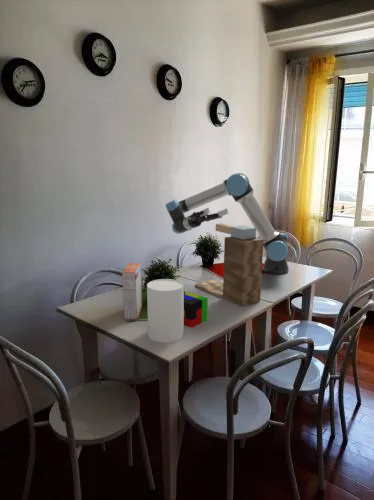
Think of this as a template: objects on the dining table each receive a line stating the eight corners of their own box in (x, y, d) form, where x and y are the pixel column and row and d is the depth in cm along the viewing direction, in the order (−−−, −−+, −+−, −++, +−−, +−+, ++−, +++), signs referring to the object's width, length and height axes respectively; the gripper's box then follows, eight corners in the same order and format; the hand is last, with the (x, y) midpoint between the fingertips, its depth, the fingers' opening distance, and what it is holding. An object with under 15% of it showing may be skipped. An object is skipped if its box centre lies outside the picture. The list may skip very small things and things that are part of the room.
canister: (175, 345, 136) (175, 292, 131) (141, 339, 140) (140, 288, 136) (188, 329, 148) (188, 281, 143) (157, 324, 153) (156, 277, 148)
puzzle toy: (173, 320, 156) (172, 298, 154) (189, 314, 163) (189, 292, 161) (190, 328, 150) (191, 304, 147) (207, 320, 157) (207, 298, 155)
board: (214, 281, 206) (214, 279, 206) (240, 292, 190) (240, 290, 189) (194, 286, 199) (194, 283, 199) (220, 298, 182) (220, 295, 182)
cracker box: (129, 307, 170) (127, 262, 166) (142, 307, 170) (141, 262, 165) (123, 320, 157) (121, 271, 152) (137, 320, 157) (136, 271, 152)
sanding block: (224, 231, 190) (224, 221, 189) (255, 238, 172) (256, 227, 171) (211, 232, 185) (211, 222, 184) (242, 240, 168) (243, 229, 167)
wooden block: (241, 293, 189) (243, 234, 182) (260, 301, 178) (263, 239, 171) (222, 298, 182) (224, 237, 175) (241, 306, 172) (244, 242, 164)
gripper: (209, 227, 221) (235, 218, 205) (176, 228, 205) (201, 217, 189) (207, 215, 222) (233, 204, 206) (174, 214, 206) (199, 203, 190)
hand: (218, 210), depth 198 cm, fingers open, 13 cm apart
